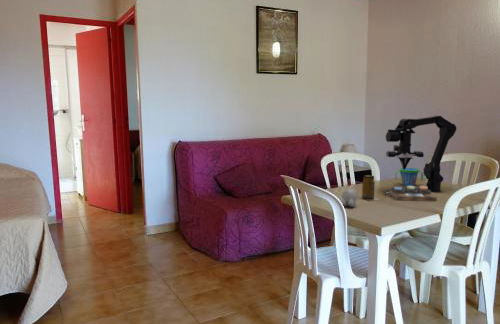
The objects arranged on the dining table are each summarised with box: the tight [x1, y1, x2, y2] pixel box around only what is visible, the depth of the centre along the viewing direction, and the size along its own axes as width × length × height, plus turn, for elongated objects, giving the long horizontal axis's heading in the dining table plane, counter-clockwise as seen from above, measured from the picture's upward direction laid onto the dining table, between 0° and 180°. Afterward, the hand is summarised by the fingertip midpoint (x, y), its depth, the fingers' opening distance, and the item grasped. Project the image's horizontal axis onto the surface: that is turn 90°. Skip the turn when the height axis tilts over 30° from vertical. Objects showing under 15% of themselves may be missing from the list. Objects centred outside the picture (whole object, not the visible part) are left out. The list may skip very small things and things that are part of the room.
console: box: [388, 187, 438, 202], centre depth 209 cm, size 20×14×4 cm
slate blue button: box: [393, 186, 403, 190], centre depth 212 cm, size 4×4×2 cm
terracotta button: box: [418, 185, 428, 190], centre depth 211 cm, size 4×4×2 cm
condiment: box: [358, 174, 379, 201], centre depth 207 cm, size 7×8×12 cm
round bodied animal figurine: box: [340, 188, 359, 208], centre depth 192 cm, size 7×12×8 cm, turn 145°
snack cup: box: [395, 167, 424, 187], centre depth 241 cm, size 16×10×10 cm
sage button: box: [406, 185, 416, 190], centre depth 212 cm, size 4×4×2 cm
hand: (404, 169), depth 221 cm, fingers closed
